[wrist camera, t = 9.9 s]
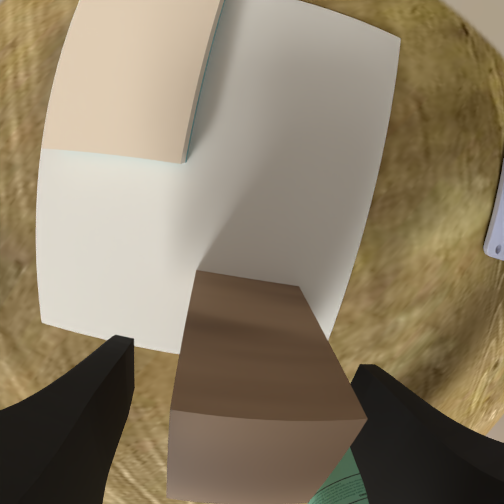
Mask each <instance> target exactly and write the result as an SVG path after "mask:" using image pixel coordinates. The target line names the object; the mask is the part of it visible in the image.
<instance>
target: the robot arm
mask: <svg viewBox="0 0 504 504" xmlns="http://www.w3.org/2000/svg"><path fill="white" fill-rule="evenodd" d="M483 248H484V253H485V254H486V255H488V256H490V257H493V258H497V259H500V260H503V261H504V160H503V166H502V172H501V177H500V182H499V187H498V192H497V196H496V201H495V205H494V209H493V213H492V217H491V221H490V225H489V228H488V232H487V236H486V239H485V242H484V247H483ZM350 385H351V387H352V389H353V391H354V392H355V394H356V396H357V398H358V400H359V402H360V404H361V406H362V408H363V410H364V412H365V414H366V416H367V418H368V419H367V421H366V423H365V424H364V426H363V427H362V429H361V431H360V432H359V434H358V435H357V437H356V438H355V440H354V441H353V443H352V444H351V446H350V449H351V452H352V454H353V457H354V459H355V462H356V465H357V467H358V470H359V473H360V475H361V478H362V480H363V483H364V487H365V490H366V493H367V498H368V502H369V504H504V443H502V442H499V441H496V440H494V439H491V438H488V437H486V436H484V435H481V434H479V433H477V432H475V431H473V430H471V429H469V428H467V427H465V426H463V425H461V424H459V423H458V422H456V421H454V420H452V419H451V418H449V417H447V416H446V415H444V414H443V413H441V412H440V411H438V410H437V409H435V408H434V407H432V406H431V405H430V404H428V403H427V402H425V401H424V400H423V399H421V398H420V397H419V396H417V395H416V394H415V393H413V392H412V391H411V390H409V389H408V388H407V387H405V386H404V385H403V384H402V383H400V382H399V381H398V380H396V379H395V378H394V377H392V376H391V375H390V374H388V373H387V372H385V371H384V370H383V369H381V368H380V367H378V366H376V365H373V364H360V365H359V367H358V369H357V371H356V374H355V376H354V378H353V380H352V382H351V384H350ZM134 388H135V387H134V338H129V337H124V336H120V335H114V336H112V337H111V338H110V339H108V340H107V341H106V342H105V343H104V344H102V345H101V346H100V347H99V348H98V349H96V350H95V351H94V352H93V353H91V354H90V355H89V356H88V357H87V358H85V359H84V360H83V361H81V362H80V363H79V364H78V365H76V366H75V367H74V368H72V369H71V370H70V371H68V372H67V373H66V374H64V375H63V376H61V377H60V378H58V379H57V380H56V381H54V382H53V383H51V384H50V385H48V386H47V387H45V388H44V389H42V390H40V391H39V392H37V393H35V394H34V395H32V396H30V397H28V398H26V399H24V400H23V401H21V402H19V403H17V404H14V405H12V406H10V407H7V408H5V409H3V410H0V504H102V503H103V497H104V491H105V486H106V481H107V477H108V473H109V469H110V466H111V463H112V460H113V457H114V455H115V452H116V449H117V446H118V443H119V440H120V437H121V434H122V431H123V429H124V426H125V423H126V420H127V417H128V414H129V410H130V406H131V401H132V397H133V392H134Z"/></svg>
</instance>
